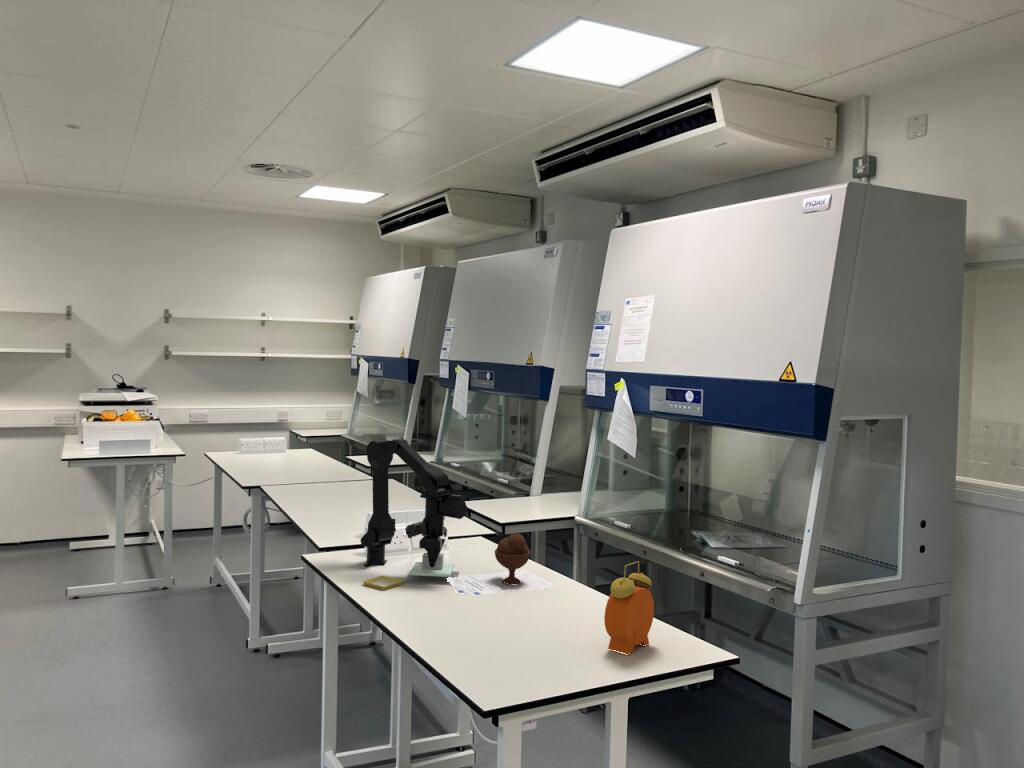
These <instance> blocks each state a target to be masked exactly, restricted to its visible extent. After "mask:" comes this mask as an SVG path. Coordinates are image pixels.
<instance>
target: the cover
mask: <svg viewBox="0 0 1024 768" xmlns="http://www.w3.org/2000/svg"><path fill="white" fill-rule="evenodd" d="M444 555H445V554H444V553H440V554H439V555H438V558H437V560H436V563H435V565H434V567H430V564H429V559H428V554H427V552H424V553H423V554H422V561H416V562H415V563H414V564H413V566H412V568H411V569H410V571H409V573H410V575H421V576H443V577H451V574H452V571H454V568H455V566H456V565H455V563H453V562H452V563H450V562H449V563H448V562H446V563H445V562H444V559H445V557H444Z"/></svg>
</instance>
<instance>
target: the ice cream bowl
mask: <svg viewBox="0 0 1024 768" xmlns="http://www.w3.org/2000/svg"><path fill="white" fill-rule="evenodd" d="M494 556H495V559H496V561H497V563H499V564H500V565H501V566H502V567H503V568H505V569H507V570H508V576H507V577H506V578H504V579H503V581H502V583H503V582H505V583H508V584H518V585H520V584H521V583H520V582H521V580H520V579H519V578H517V577H516V576H515V574H516V573H515V572H516V570H517V569H521V568H522V567H524V566H525V565H526V564H527V563H528V561H529V559H530V556H531V550H530V549H529V546H528V545H527V544H526V539H525V537H524V536H523V535H522V534H521V533H511V534H510V535H509V536H508V537H505V538H502V539H501V540H500V541H499V542H498V545H497V547H496V549H494ZM508 584H507V585H508Z"/></svg>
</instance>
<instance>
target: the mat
mask: <svg viewBox="0 0 1024 768" xmlns="http://www.w3.org/2000/svg"><path fill="white" fill-rule="evenodd" d="M459 575H460V571H454V570H453V571H452V574H451V577H452V578H454V577H457V578H459ZM446 578H448V577H443V576H421V575H410V572H409V573H408V574H407V576H406V578H405V580H403V584H411V585H435V586H436V585H437V586H452V585H451V584H450V582H447V579H446Z"/></svg>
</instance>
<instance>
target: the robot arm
mask: <svg viewBox="0 0 1024 768" xmlns="http://www.w3.org/2000/svg"><path fill="white" fill-rule="evenodd" d="M394 454H396V455H397V456H398V458H399V459H401V461H403V462H404V463H405V464H406V465H407V466H408V467H409V469H411V471H412V472H414V474H415V475H416V476H417V478H418V482H419V484H420V485H421V487H422V488H423V490H424V491H423V493H422V494H420V495H419V497H420V498H422V499H425V505H424V506H425V507H424V508H425V511H424V518H423V519H422V521H418V522H415V523H413V522H412V524H410V523H409V524H408V525H407V526H406V527H405V528H404V530H405V534H406V535H407V536H406V537H407V538H408V539H412V538H414V537H416V536H419V535H421V536H422V538H420V540H419V543H418V544H419V545H418V546H419V547H418V548H419V549H424V550H426V553H427V554H428V559H429V564H430V567H434V565H435V563H436V560H437V558H438V555H439V554H441V551H442V548H443V546H444V544H445V541H446V539H445V538H447V536H448V529H447V528H446V527H445V519H446V518H452V519H457V520H461V519H463V518H464V517H465V516H466V514H467V511H468V506H467V503H466V501H465V500H464V499H463V497H464V496H463V494H462V495H461V494H458V495H457V494H456V492H455V490H454V488H453V486H452V484H451V482H450V480H449V476H448V474H447V473H446V472H445V471H443V470H441V469H440V468H438V467H436V466H433V465H431V464H430V463H429V462H427V460H426V459H424V457H422V456H421V455H420V454H419V453H418V451H416V450H415V449H414V447H412V446H411V445H410V444H409V442H408V440H406V439H405V438H395V439H392V440H388V439H384V440H383V439H381V440H373V441H372V440H371V441H370V442H369V443H368V444H367V445H366V458H367V462H368V464H369V466H370V467H371V469H372V515H371V517H370V519H369V521H368V524H367V531H366V532H365V534H364V535H363V536H362V537H361V538H360V544H361V547H365V548H366V561H365V562H364V563H363V566H364V567H371V566H378V567H380V566H381V567H383V566H385V565H386V564H387V562H388V560H387V559H386V558H385V557H386V545H390V544H391V543H392V539H393V537H395V532H397V530H396V529H397V528H396V519H395V518H392V516H391V514H390V513H389V467H390V465H391V463H392V461H393V460H394V459H393V458H394ZM442 537H444V538H442Z"/></svg>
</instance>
